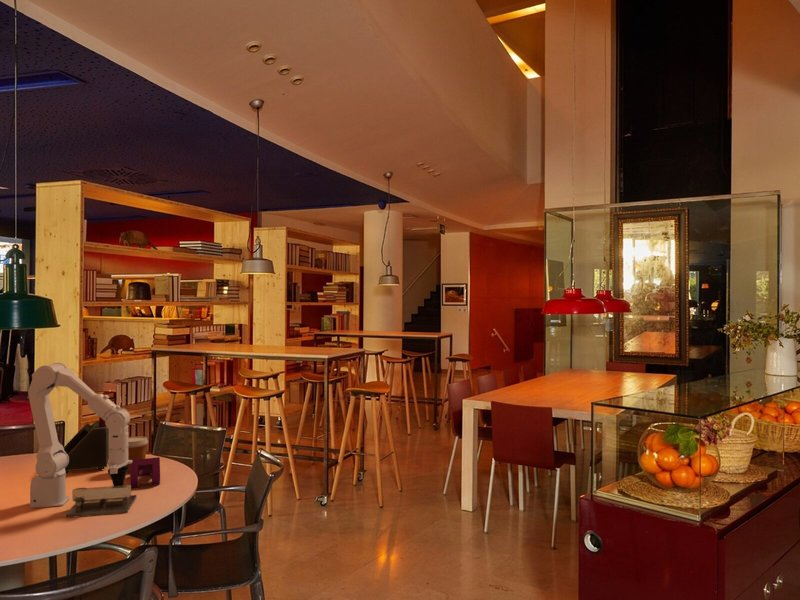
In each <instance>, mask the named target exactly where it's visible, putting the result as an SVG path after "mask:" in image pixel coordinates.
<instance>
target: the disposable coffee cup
mask: <svg viewBox="0 0 800 600" xmlns="http://www.w3.org/2000/svg"><path fill="white" fill-rule="evenodd" d="M148 443H149V440H148V437H146V436H130V437H128V460H137V459H146V455H147V447H148V446H147V445H148ZM125 466H129V469H128V471H127V473H126V474H130V464H127V465H125Z"/></svg>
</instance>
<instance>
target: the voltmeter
mask: <svg viewBox="0 0 800 600" xmlns="http://www.w3.org/2000/svg"><path fill="white" fill-rule="evenodd" d="M63 448H64V451H65V452H66V454H67V455H68V457H69V463H68V465H67V467H66V468H65V471H66V473H67V474H69V473H70V471H77V470H78V471H79V470H89V469H97V471H103V470H102V469H104V470H105V468H107V467H108V462H109V429H108V427H107V426H106V424H105V420H103V419H102V418H101V417H99V420H95V421H94V422H93V423H92V424H89V423H88V422H87V423H86V424H85V425H84V426H82V427H81V429H79V431H78V432H76V434H74V436H73V437H72V438H71V439H70V440H69V441H68V442H67V443H66V444H65V446H63ZM68 472H69V473H68Z"/></svg>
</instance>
